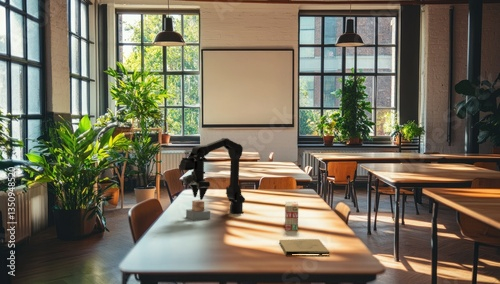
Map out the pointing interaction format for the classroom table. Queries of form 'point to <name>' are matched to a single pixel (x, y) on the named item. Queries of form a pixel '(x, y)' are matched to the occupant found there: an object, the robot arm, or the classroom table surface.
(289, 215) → the printed carton
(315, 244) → the olive notebook
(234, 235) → the classroom table surface
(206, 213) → the base block
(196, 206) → the terracotta cube
